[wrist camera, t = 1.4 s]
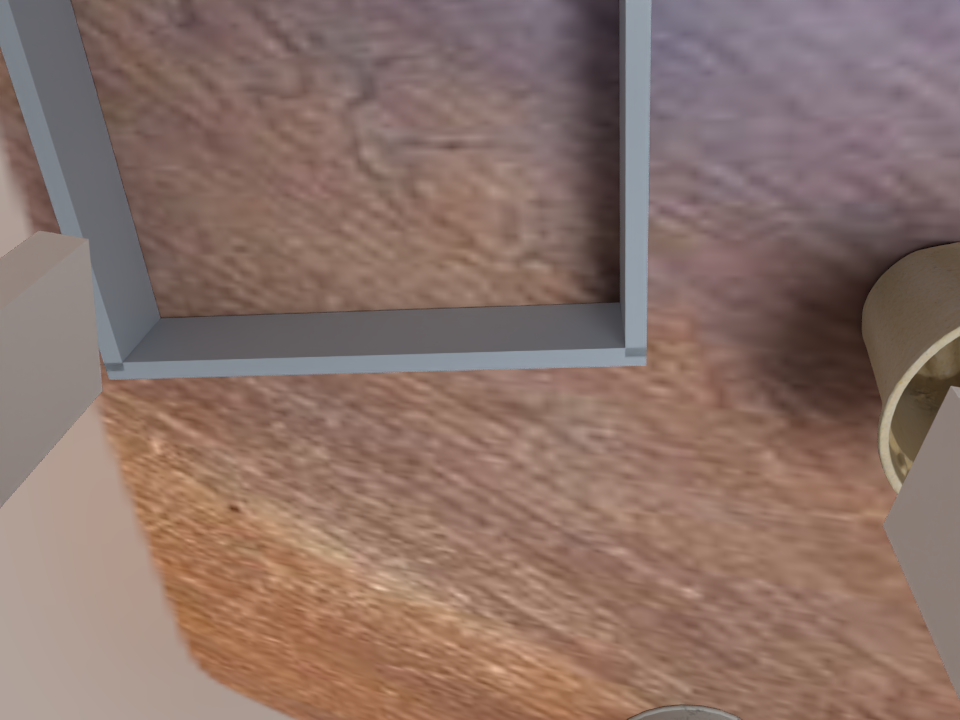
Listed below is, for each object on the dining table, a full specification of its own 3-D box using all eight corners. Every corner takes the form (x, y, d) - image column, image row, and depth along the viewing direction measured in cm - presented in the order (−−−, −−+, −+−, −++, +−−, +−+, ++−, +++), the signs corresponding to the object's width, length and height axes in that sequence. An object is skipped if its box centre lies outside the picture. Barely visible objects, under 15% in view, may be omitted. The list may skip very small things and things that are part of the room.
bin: (24, -87, 32) (-41, -79, 29) (643, -142, 30) (653, -141, 26) (148, 334, 41) (109, 379, 37) (638, 318, 38) (646, 365, 35)
